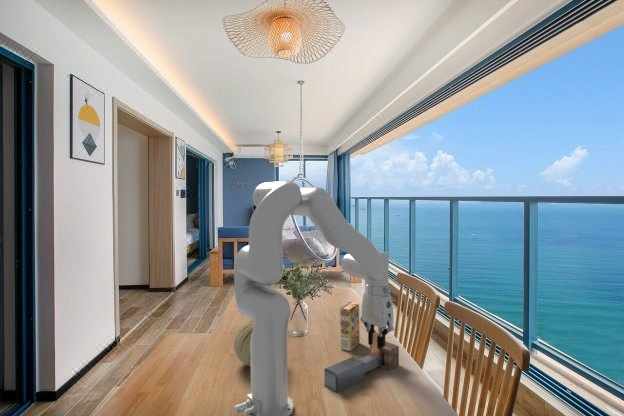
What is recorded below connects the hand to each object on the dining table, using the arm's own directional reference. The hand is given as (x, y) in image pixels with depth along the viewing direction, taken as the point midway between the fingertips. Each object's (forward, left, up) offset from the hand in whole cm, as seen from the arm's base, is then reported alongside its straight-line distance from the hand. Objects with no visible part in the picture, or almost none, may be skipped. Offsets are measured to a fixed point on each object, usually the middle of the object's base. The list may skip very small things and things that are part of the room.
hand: (376, 345), depth 118 cm
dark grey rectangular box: (-15, 0, -7) cm, 16 cm away
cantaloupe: (-29, +27, -7) cm, 40 cm away
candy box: (+5, +17, -7) cm, 19 cm away
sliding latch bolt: (-4, 0, -6) cm, 7 cm away
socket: (+4, 0, -7) cm, 8 cm away
